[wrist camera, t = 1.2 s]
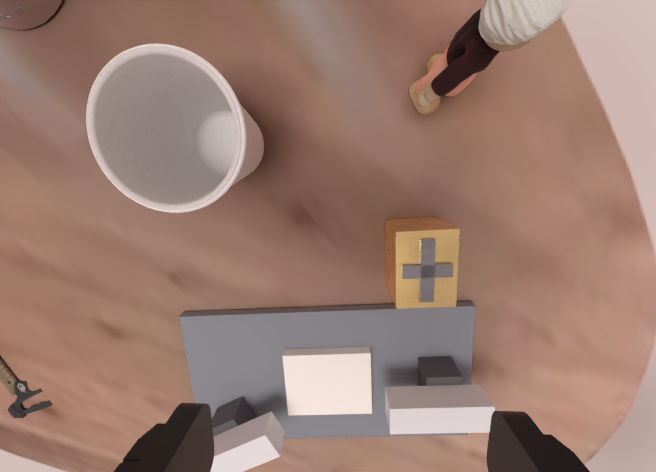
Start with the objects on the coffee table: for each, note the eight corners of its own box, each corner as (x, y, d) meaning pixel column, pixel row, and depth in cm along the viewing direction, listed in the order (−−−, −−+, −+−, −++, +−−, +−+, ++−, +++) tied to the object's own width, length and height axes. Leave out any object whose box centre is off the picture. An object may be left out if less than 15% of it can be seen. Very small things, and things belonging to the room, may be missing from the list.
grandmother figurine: (433, 136, 25) (530, 108, 12) (392, 113, 24) (449, 62, 12) (487, 40, 23) (662, -103, 11) (443, 15, 23) (571, -163, 10)
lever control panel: (205, 431, 32) (175, 493, 26) (184, 311, 29) (143, 350, 23) (463, 426, 31) (493, 489, 25) (470, 300, 28) (507, 339, 22)
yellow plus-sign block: (384, 219, 26) (396, 232, 21) (437, 216, 26) (461, 229, 21) (385, 283, 28) (396, 310, 23) (435, 281, 28) (457, 308, 22)
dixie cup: (163, 155, 26) (56, 151, 16) (213, 67, 24) (129, 1, 14) (245, 213, 27) (192, 243, 17) (300, 133, 25) (276, 113, 15)
